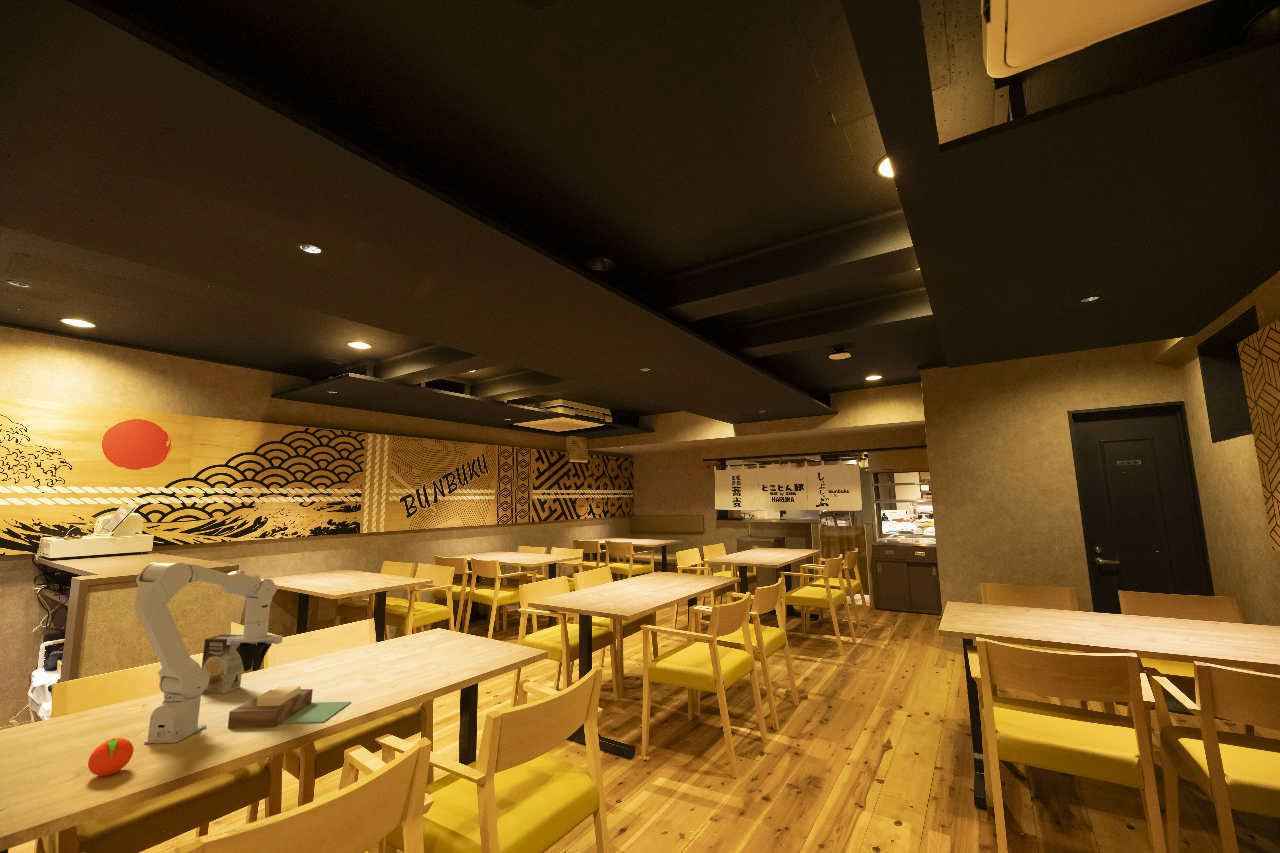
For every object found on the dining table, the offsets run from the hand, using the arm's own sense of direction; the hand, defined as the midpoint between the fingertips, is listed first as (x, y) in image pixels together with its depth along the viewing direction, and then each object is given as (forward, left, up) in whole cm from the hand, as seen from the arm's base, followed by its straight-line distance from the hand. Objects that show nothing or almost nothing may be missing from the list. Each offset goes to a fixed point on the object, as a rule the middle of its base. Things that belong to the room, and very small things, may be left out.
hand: (251, 670), depth 148 cm
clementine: (-36, +4, -11) cm, 38 cm away
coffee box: (+16, +20, -11) cm, 28 cm away
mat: (-4, -22, -10) cm, 24 cm away
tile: (-5, -11, -6) cm, 14 cm away
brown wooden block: (-5, -10, -10) cm, 15 cm away
